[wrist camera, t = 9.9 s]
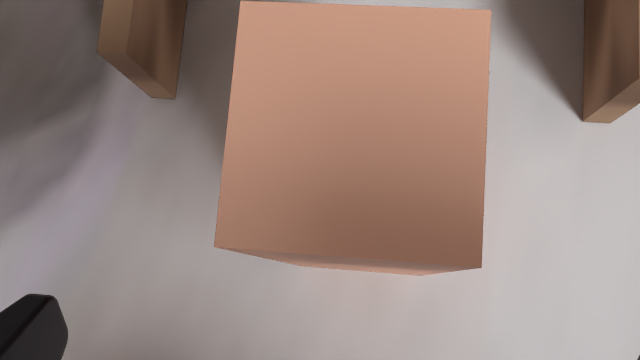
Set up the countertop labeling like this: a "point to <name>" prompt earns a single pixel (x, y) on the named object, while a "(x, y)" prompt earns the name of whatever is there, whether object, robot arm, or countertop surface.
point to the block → (357, 137)
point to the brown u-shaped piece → (169, 18)
